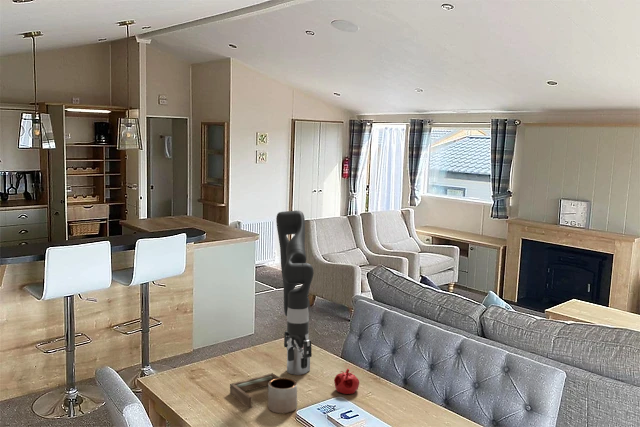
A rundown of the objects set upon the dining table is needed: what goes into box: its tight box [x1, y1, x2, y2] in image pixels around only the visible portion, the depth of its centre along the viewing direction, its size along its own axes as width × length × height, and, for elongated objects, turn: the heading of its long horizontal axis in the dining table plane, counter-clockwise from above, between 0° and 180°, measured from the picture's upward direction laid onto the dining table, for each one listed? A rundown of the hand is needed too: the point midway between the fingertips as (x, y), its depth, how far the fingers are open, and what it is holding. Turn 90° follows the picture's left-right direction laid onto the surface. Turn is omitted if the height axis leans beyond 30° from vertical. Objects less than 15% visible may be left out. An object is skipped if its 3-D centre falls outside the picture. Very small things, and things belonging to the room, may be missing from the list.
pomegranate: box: [333, 368, 360, 395], centre depth 227 cm, size 10×10×9 cm
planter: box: [267, 377, 298, 415], centre depth 211 cm, size 11×11×10 cm
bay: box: [229, 372, 280, 409], centre depth 223 cm, size 19×15×4 cm
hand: (297, 364), depth 200 cm, fingers open, 8 cm apart
